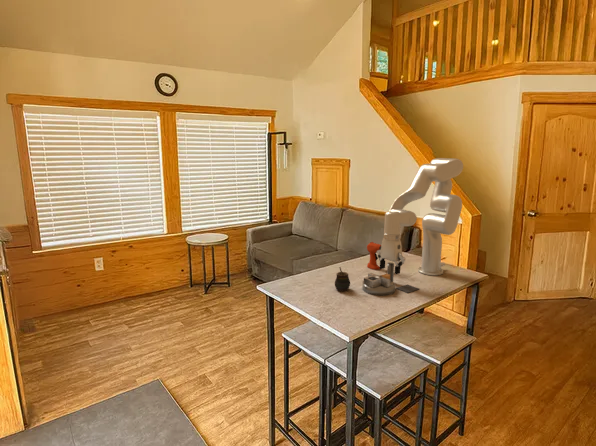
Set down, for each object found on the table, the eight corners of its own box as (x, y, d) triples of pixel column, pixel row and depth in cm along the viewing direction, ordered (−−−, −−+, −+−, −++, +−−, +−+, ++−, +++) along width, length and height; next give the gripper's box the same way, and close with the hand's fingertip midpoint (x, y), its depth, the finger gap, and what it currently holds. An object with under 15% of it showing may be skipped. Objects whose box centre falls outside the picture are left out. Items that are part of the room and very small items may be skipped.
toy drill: (390, 273, 194) (388, 244, 192) (365, 268, 209) (363, 242, 208) (397, 271, 196) (395, 243, 195) (371, 266, 212) (370, 240, 211)
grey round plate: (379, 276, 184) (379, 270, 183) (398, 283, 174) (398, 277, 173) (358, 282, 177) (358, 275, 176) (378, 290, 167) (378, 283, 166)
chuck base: (378, 281, 186) (378, 275, 186) (401, 290, 174) (402, 284, 173) (355, 288, 178) (355, 282, 178) (378, 298, 166) (379, 291, 165)
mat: (407, 285, 181) (407, 284, 181) (419, 289, 176) (419, 288, 176) (396, 288, 177) (396, 287, 177) (407, 293, 171) (407, 292, 171)
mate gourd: (339, 293, 172) (339, 272, 170) (331, 288, 179) (331, 268, 177) (352, 291, 174) (353, 270, 172) (344, 285, 181) (345, 266, 179)
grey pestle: (389, 281, 187) (390, 262, 185) (394, 283, 184) (395, 263, 182) (385, 282, 185) (386, 263, 183) (390, 284, 182) (391, 264, 180)
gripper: (411, 239, 175) (408, 274, 178) (383, 232, 189) (381, 265, 192) (400, 241, 171) (398, 277, 174) (373, 234, 185) (371, 267, 188)
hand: (389, 271), depth 183 cm, fingers open, 9 cm apart
